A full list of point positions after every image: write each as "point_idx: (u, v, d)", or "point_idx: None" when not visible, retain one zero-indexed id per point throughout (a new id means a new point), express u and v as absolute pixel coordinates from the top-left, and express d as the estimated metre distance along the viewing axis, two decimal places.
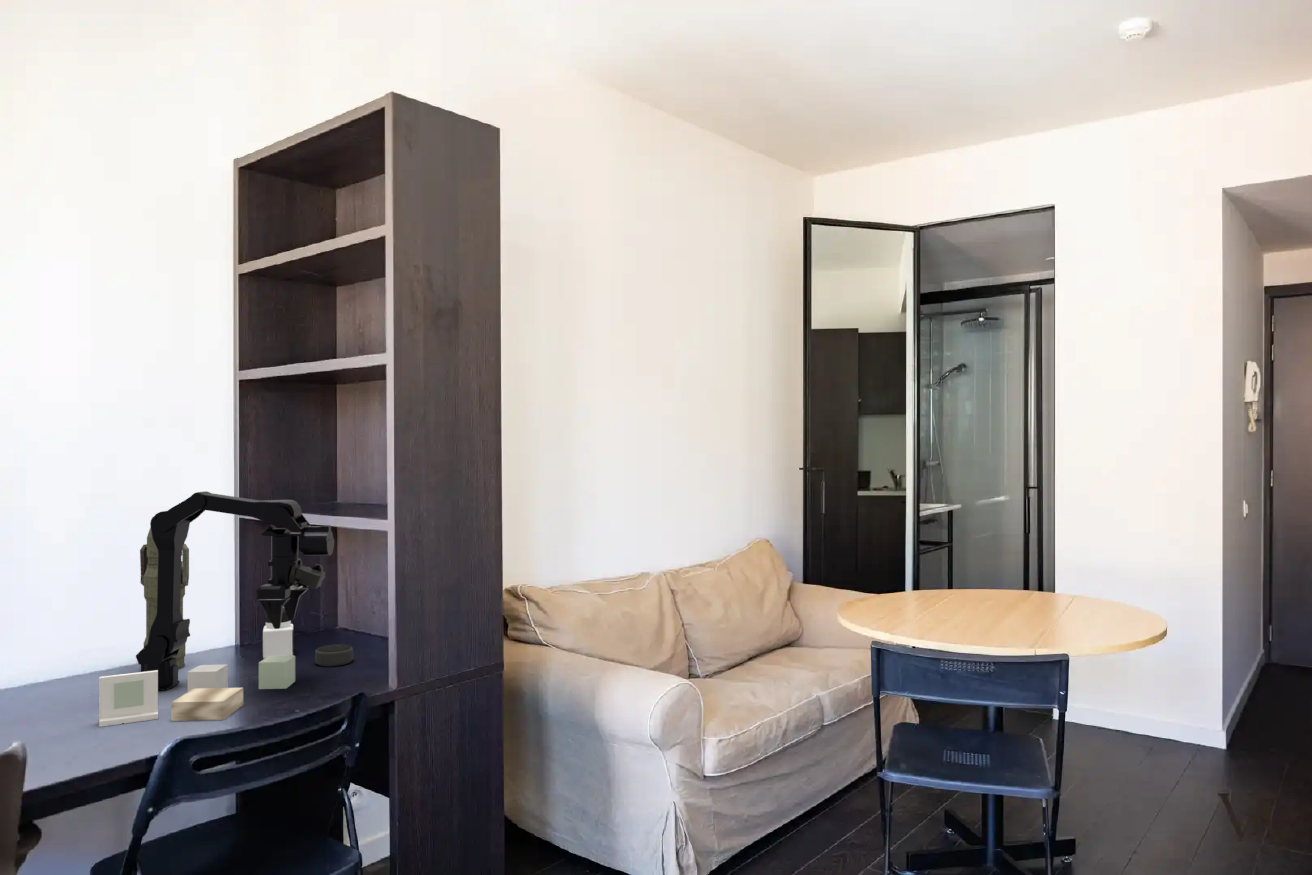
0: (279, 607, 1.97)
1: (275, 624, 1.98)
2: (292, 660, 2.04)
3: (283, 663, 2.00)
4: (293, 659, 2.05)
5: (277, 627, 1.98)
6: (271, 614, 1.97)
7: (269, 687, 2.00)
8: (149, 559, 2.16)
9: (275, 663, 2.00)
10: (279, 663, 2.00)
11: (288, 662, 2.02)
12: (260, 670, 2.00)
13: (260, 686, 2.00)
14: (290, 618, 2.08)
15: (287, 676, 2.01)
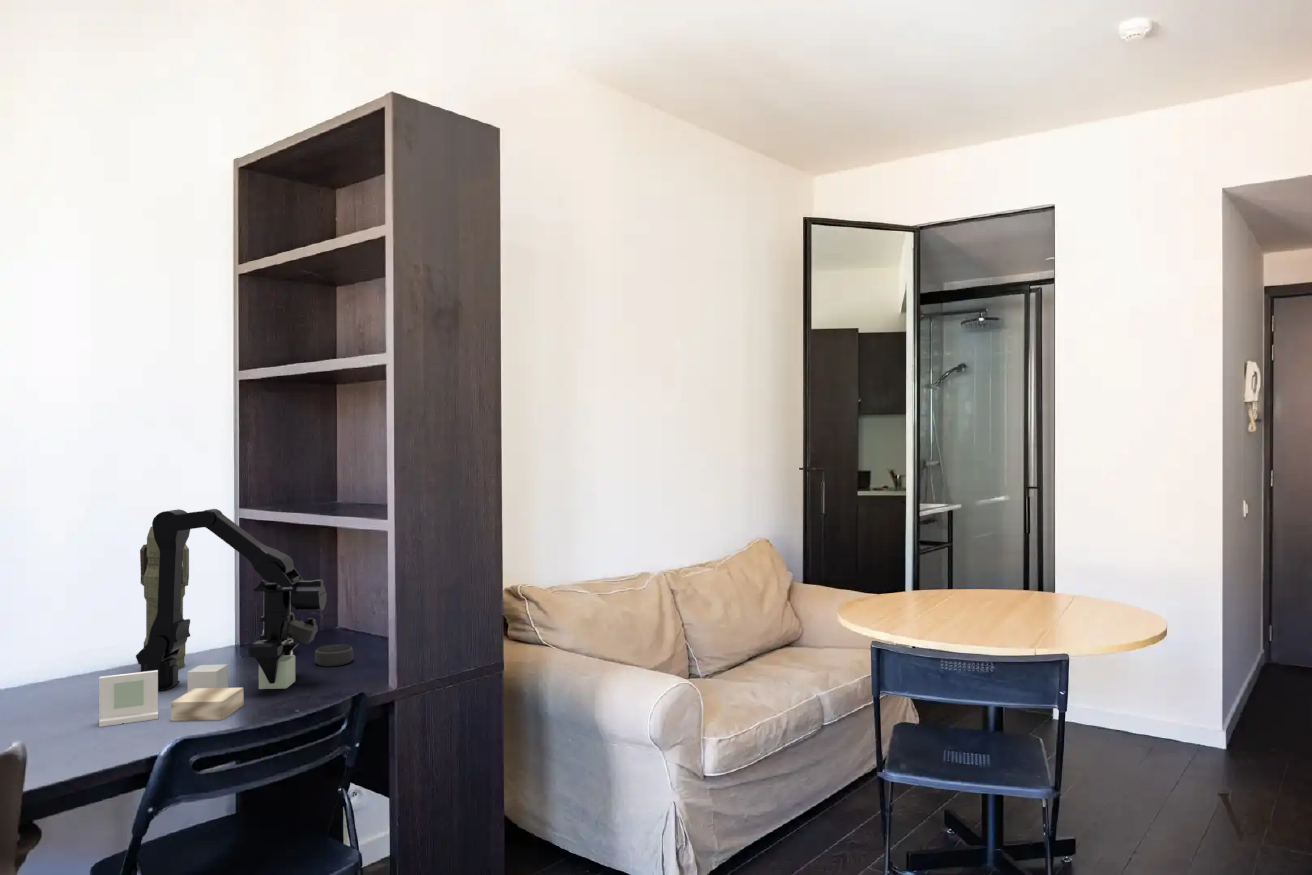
0: (274, 662, 1.98)
1: (270, 679, 1.99)
2: (292, 659, 2.04)
3: (283, 663, 2.00)
4: (293, 659, 2.05)
5: (272, 682, 2.00)
6: (266, 669, 1.99)
7: (269, 687, 2.00)
8: (149, 559, 2.16)
9: None
10: (279, 663, 2.00)
11: (288, 662, 2.02)
12: (260, 670, 2.00)
13: (260, 686, 2.00)
14: None
15: (287, 675, 2.01)
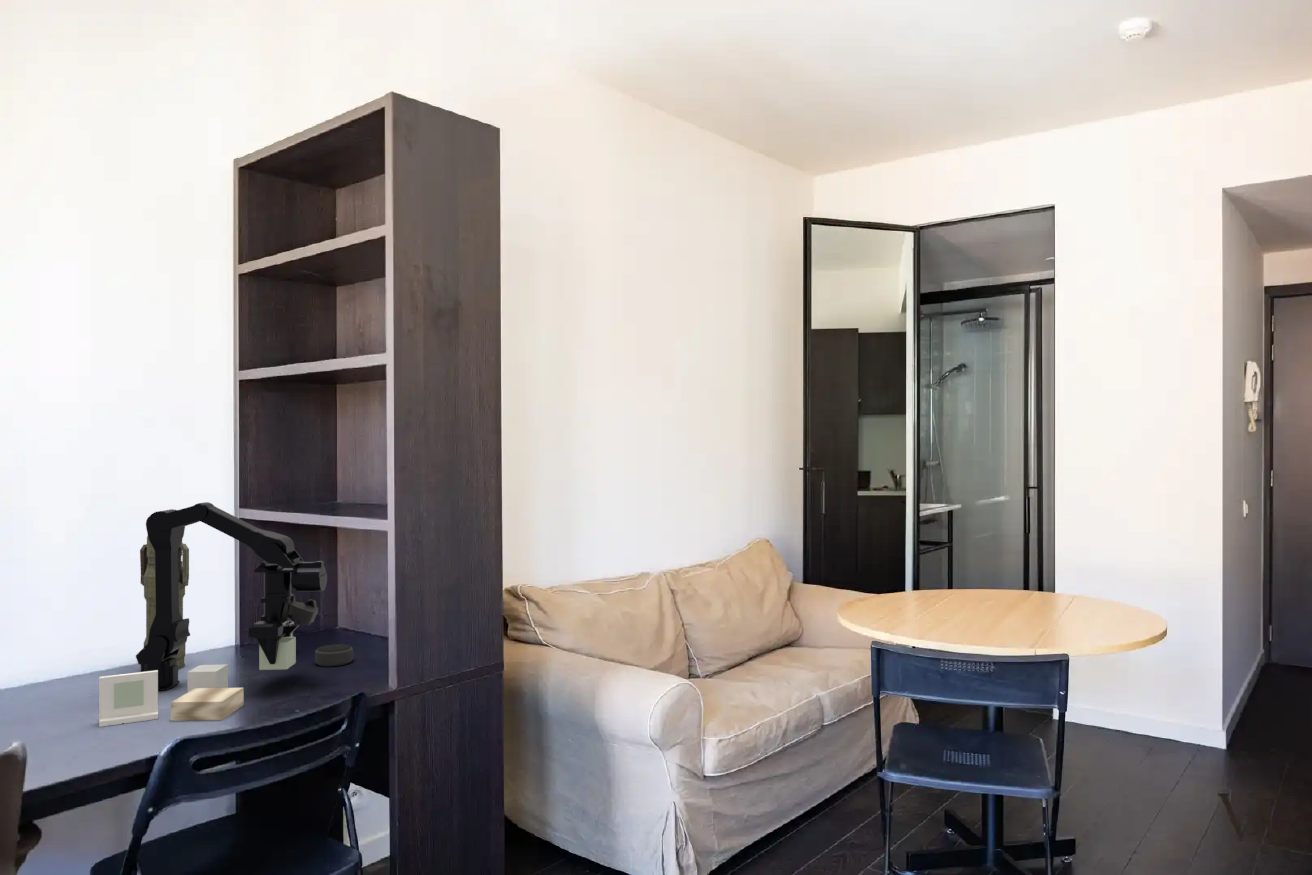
0: (274, 643, 1.98)
1: (270, 660, 1.99)
2: (292, 641, 2.04)
3: (284, 644, 2.00)
4: (294, 640, 2.05)
5: (272, 662, 2.00)
6: (266, 650, 1.99)
7: (270, 667, 2.00)
8: (149, 559, 2.16)
9: None
10: (280, 643, 2.00)
11: (289, 643, 2.02)
12: (261, 650, 2.00)
13: (261, 666, 2.00)
14: None
15: (287, 656, 2.01)
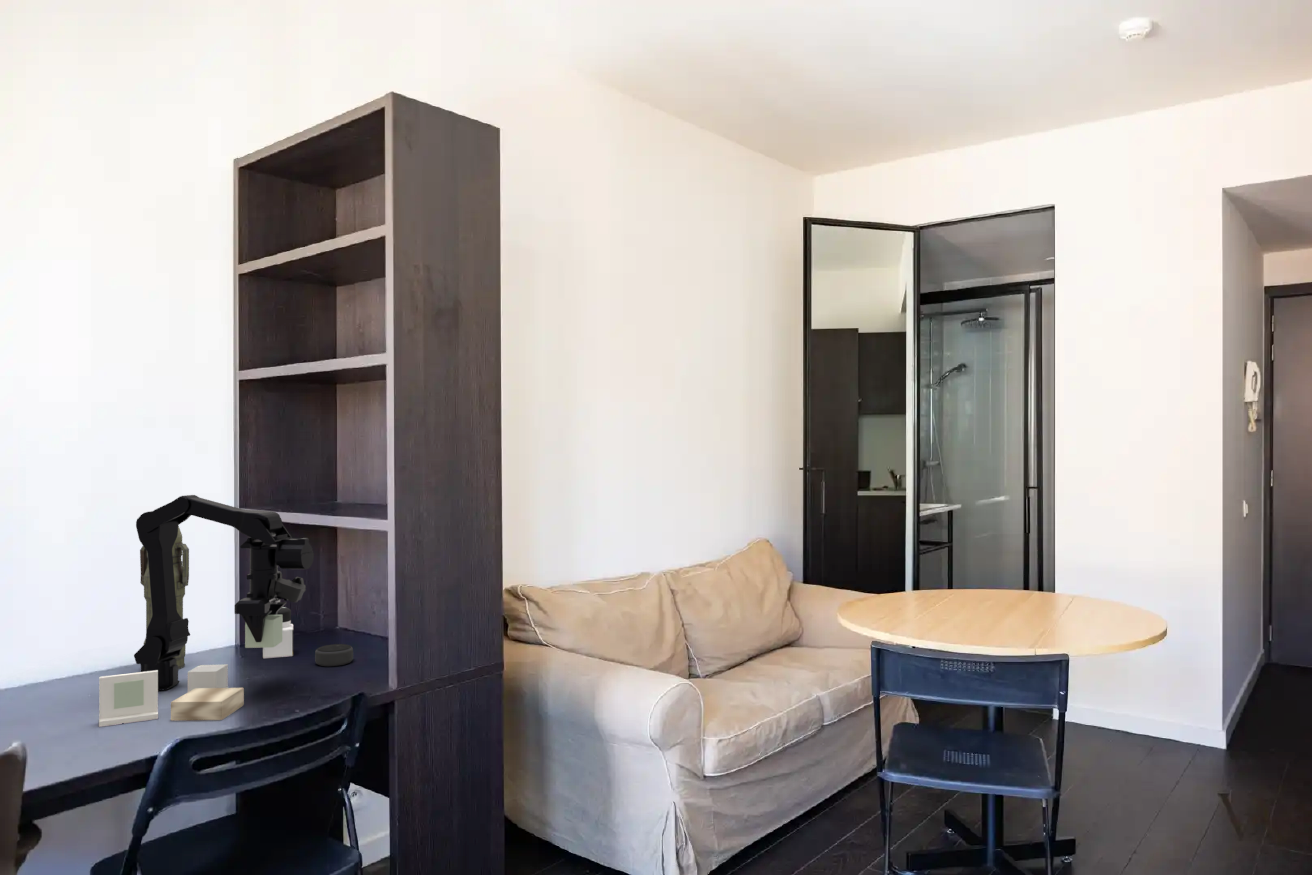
0: (261, 620, 1.94)
1: (257, 637, 1.95)
2: (279, 618, 2.00)
3: (270, 621, 1.96)
4: (280, 618, 2.01)
5: (259, 640, 1.95)
6: (252, 627, 1.94)
7: (256, 645, 1.96)
8: None
9: None
10: (266, 621, 1.96)
11: (275, 620, 1.98)
12: (247, 628, 1.96)
13: (247, 644, 1.96)
14: None
15: (274, 634, 1.97)
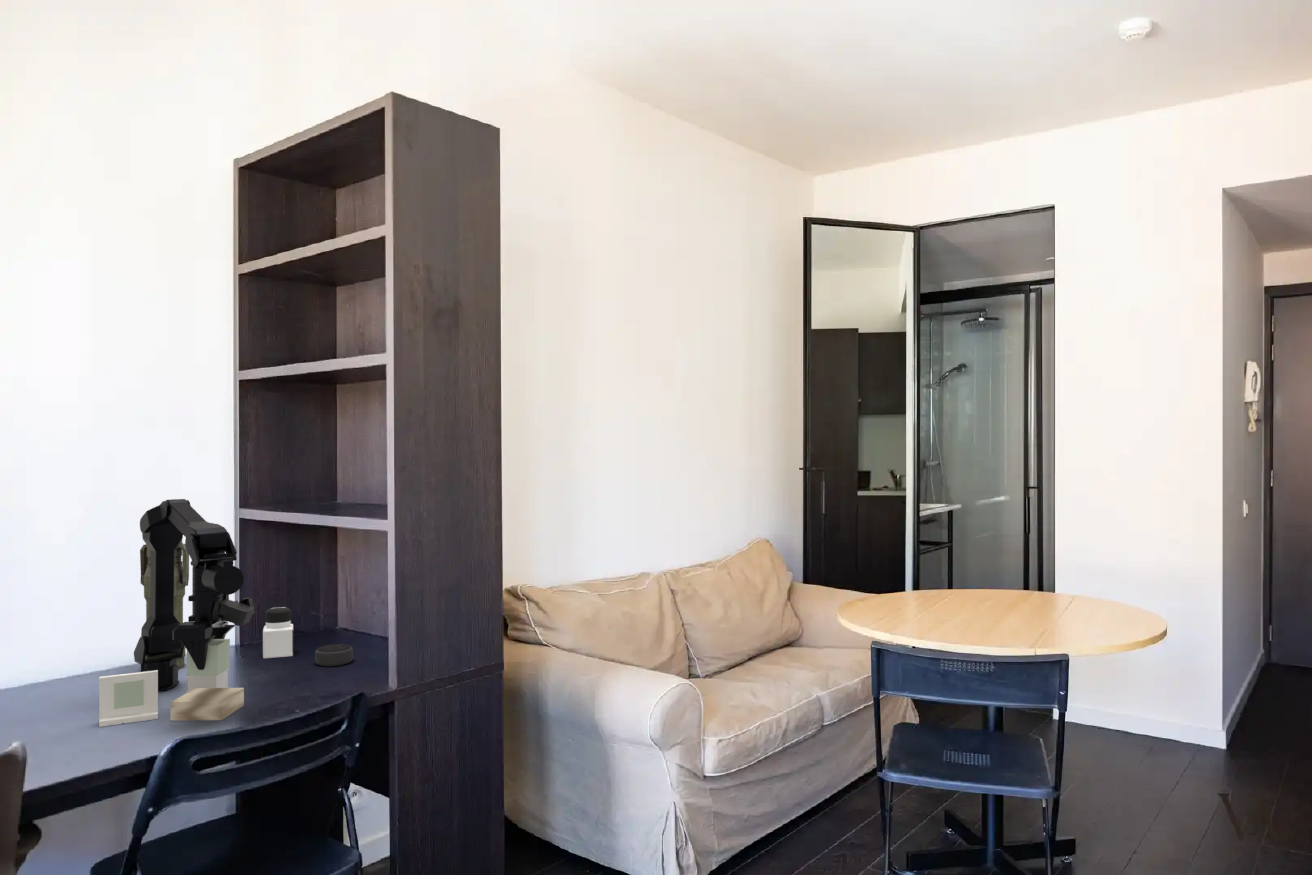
0: (203, 646, 1.78)
1: (199, 665, 1.79)
2: (225, 643, 1.84)
3: (214, 647, 1.80)
4: (227, 643, 1.85)
5: (201, 668, 1.79)
6: (194, 654, 1.78)
7: (198, 673, 1.79)
8: (149, 559, 2.16)
9: None
10: (210, 647, 1.80)
11: (220, 646, 1.81)
12: (188, 654, 1.79)
13: (188, 672, 1.79)
14: None
15: (219, 661, 1.80)
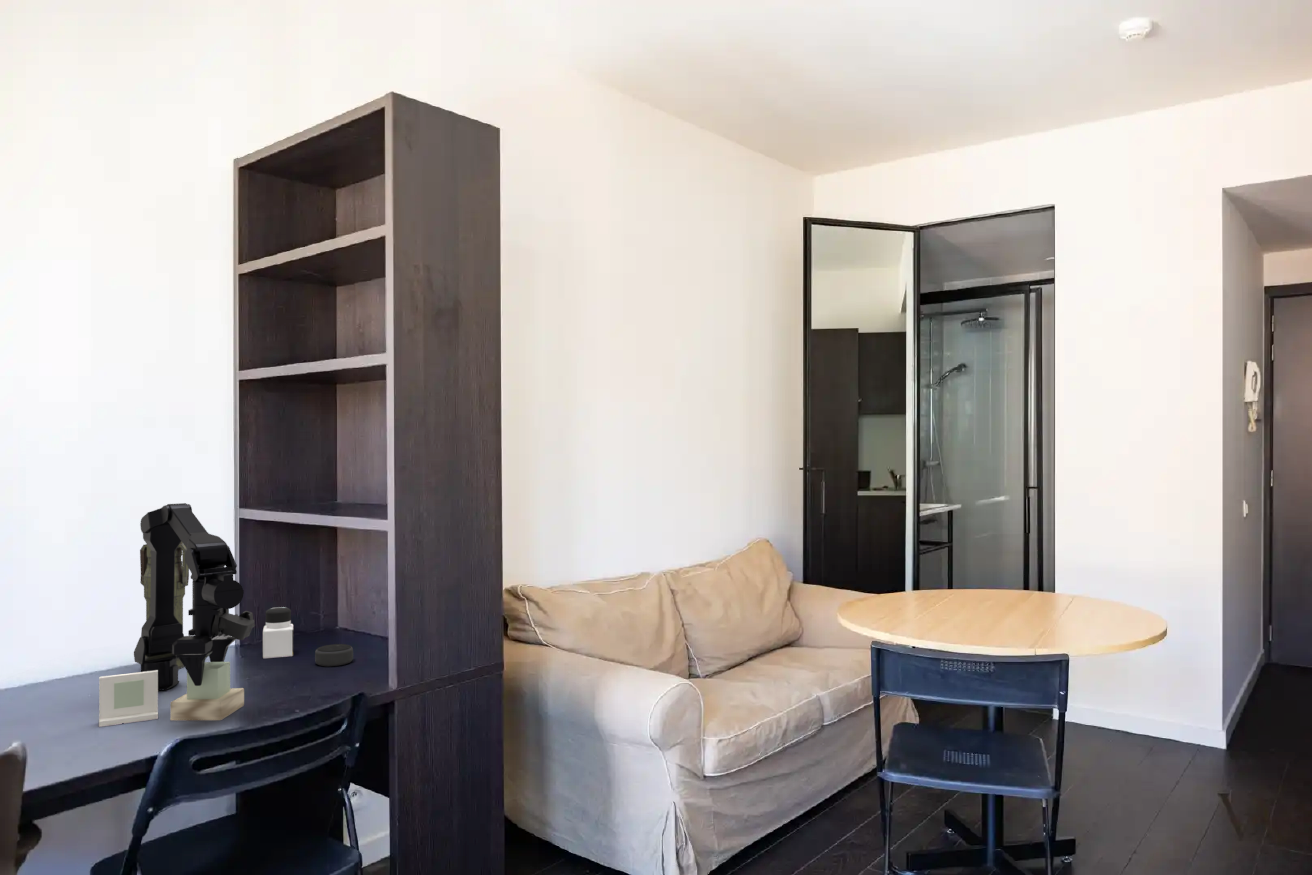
0: (199, 662, 1.76)
1: (196, 681, 1.77)
2: (225, 666, 1.84)
3: (214, 670, 1.80)
4: (227, 666, 1.85)
5: (198, 684, 1.78)
6: (191, 670, 1.77)
7: (198, 697, 1.79)
8: (149, 559, 2.16)
9: (205, 670, 1.80)
10: (210, 670, 1.80)
11: (220, 669, 1.81)
12: (188, 678, 1.79)
13: (188, 696, 1.79)
14: None
15: (219, 684, 1.80)
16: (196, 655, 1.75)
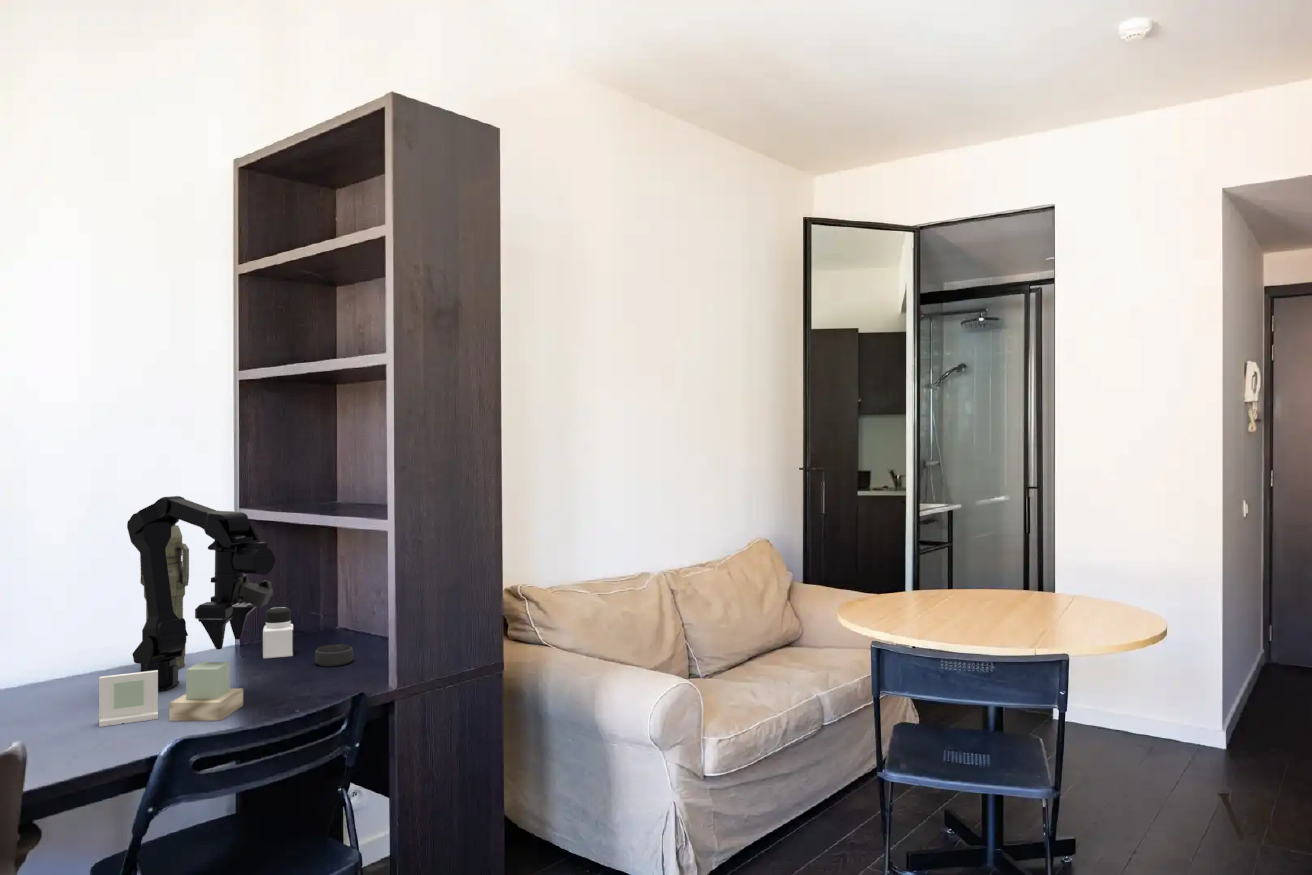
0: (220, 627, 1.86)
1: (217, 644, 1.87)
2: (225, 667, 1.83)
3: (213, 670, 1.79)
4: (227, 666, 1.84)
5: (219, 648, 1.88)
6: (212, 634, 1.87)
7: (198, 697, 1.79)
8: None
9: (205, 670, 1.79)
10: (209, 670, 1.79)
11: (220, 669, 1.81)
12: (188, 678, 1.79)
13: (188, 696, 1.79)
14: (237, 637, 1.97)
15: (218, 685, 1.80)
16: (217, 620, 1.84)
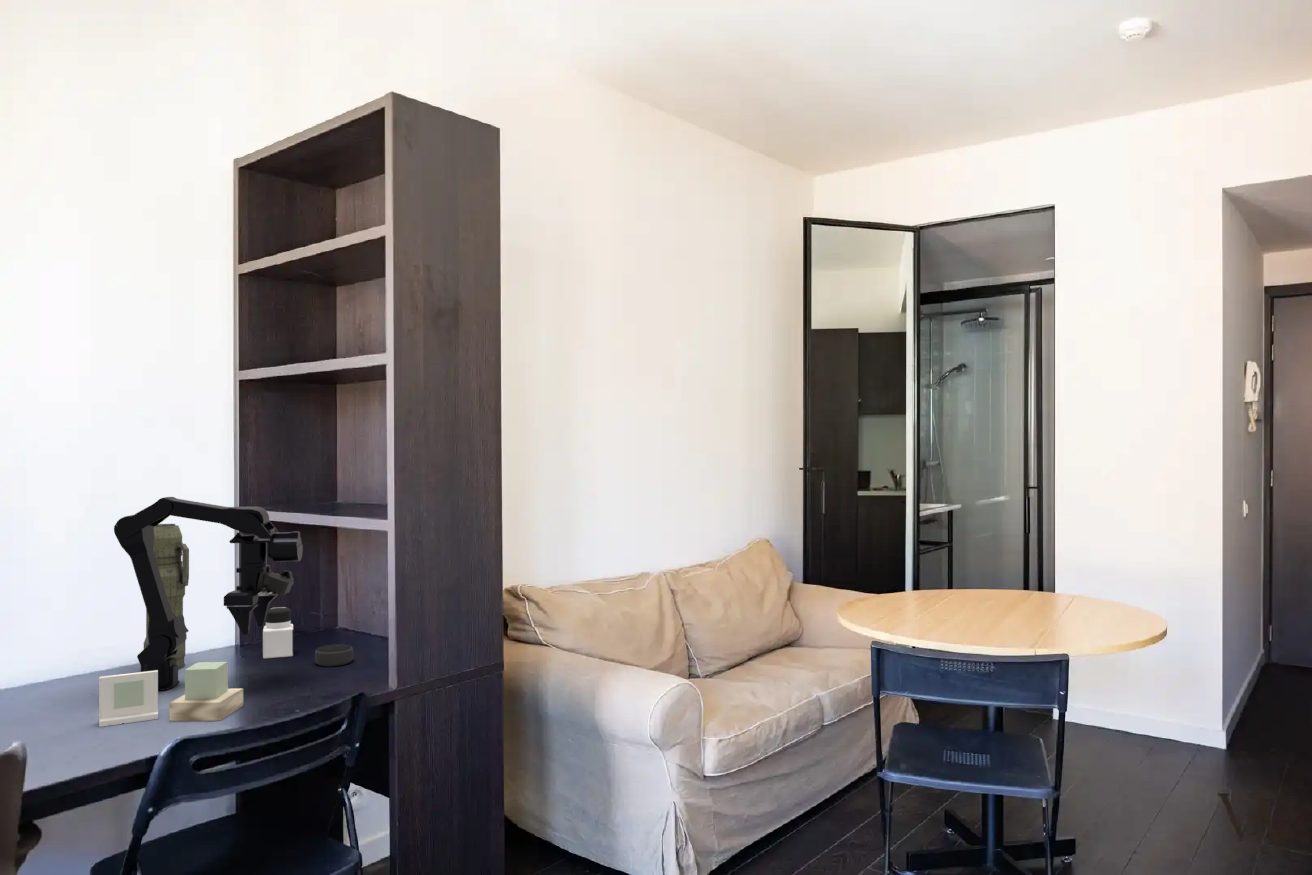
0: (247, 613, 1.99)
1: (243, 630, 2.00)
2: (223, 666, 1.84)
3: (213, 670, 1.80)
4: (225, 665, 1.84)
5: (245, 633, 2.00)
6: (239, 620, 1.99)
7: (197, 697, 1.79)
8: None
9: (204, 670, 1.79)
10: (208, 670, 1.80)
11: (219, 669, 1.81)
12: (187, 678, 1.79)
13: (187, 696, 1.79)
14: (260, 624, 2.09)
15: (217, 684, 1.80)
16: (244, 607, 1.97)
